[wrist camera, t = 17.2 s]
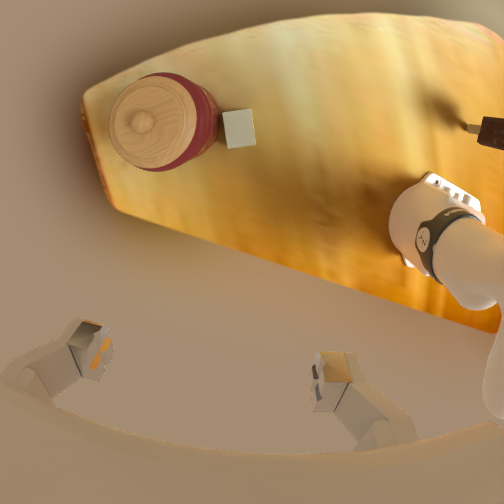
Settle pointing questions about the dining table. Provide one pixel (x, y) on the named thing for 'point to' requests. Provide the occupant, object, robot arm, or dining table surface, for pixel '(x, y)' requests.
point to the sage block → (239, 128)
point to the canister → (163, 122)
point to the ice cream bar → (489, 132)
